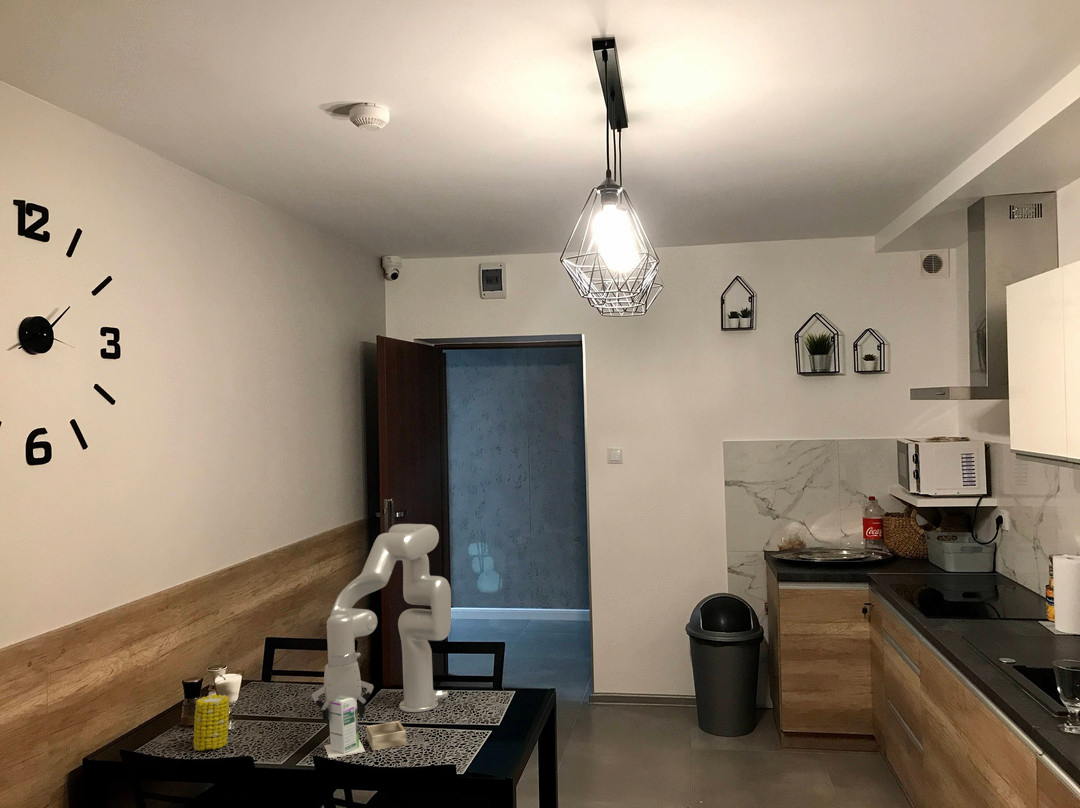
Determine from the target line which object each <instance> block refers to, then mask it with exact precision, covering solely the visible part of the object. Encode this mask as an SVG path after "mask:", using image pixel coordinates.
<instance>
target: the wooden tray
mask: <svg viewBox="0 0 1080 808" xmlns="http://www.w3.org/2000/svg"><path fill="white" fill-rule="evenodd" d="M367 740H368V741H367ZM366 741H367V743H368V742H369V743H368V745H369V744H370V745H369V746H371V747H370V748H372V749H371V751H372V750H378V751H381V750H380V749H384V750H386V749H385V748H389V749H391V748H390V747H395V748H397V747H396V746H400V747H403V746H402V745H406V746H407V731H406V729H405V728H404V726H403V725H402V723H401V721H399V720H396V721H391V722H384V723H379V724H372V725H367V726H366Z"/></svg>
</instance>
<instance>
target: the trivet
mask: <svg viewBox="0 0 1080 808" xmlns="http://www.w3.org/2000/svg"><path fill="white" fill-rule="evenodd" d="M324 747H325V748H324ZM323 748H324V750H325V749H326V751H325V753H326V752H327V753H326V756H327V755H328V756H327V758H333V759H332V760H335V759H338V758H337V757H341V758H343V757H342V756H346V755H352V754H357V753H362V752H365V753H366V750H365V748H364V746H363V743H362V742H361V740H360V739H359V747H357V748H355V749H353V750H350V751H348V752H346V753H339V752H336V751H333V750H331V743H330V744H324V746H323ZM352 756H353V755H352Z"/></svg>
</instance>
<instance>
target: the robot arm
mask: <svg viewBox="0 0 1080 808" xmlns="http://www.w3.org/2000/svg"><path fill="white" fill-rule="evenodd" d="M439 539H440V535H439V531H438V529H437V527H436V526H434V525H433V524H427V523H426V524H425V523H420V524H419V523H399V524H394V525H392V526H391V527H390V528H389V529H388V532H383V533H381V534H379V535H377V537H376V539H375V540H374V542H373V545H372V547H371V550H370V552H369V554H368V556H367V559H366V562H365V564H364V567H363V569H362V571H361V573H360V574H359V575H357V577H356V578H354V579H353V580H352V581H351V582H349V583H348V584H347V585H346V586H345V587H344V588H343V589H342V591H340V593H339V594H338V596H337V597H336V600H335V601H334V604H333V606H332V610H331V611H330V616H329V617H328V618H327V621H326V641H327V661H328V662H327V663H326V664H325V666H324V676H323V686H322V687H320V688H319V689H318V690H316V691H315V692H313V693H312V694H311V698H312V699H313V701H314V702H315V705H317V706H318V707H319V708H320V709H321V711H322V712H321V713H322V716H321V717H322V721H325V724H326V725H328V724H330V723H329V704H330V703H331V702H334V701H335V700H338V699H346V698H357V700H358V702H357V706H358V715H359V717H360V718H361V719H363V718H364V714H366V706H365V704H366V702H367V700H368V699H369V698H370V696H371V695H372V692H373V691H374V687H375V686H374V684H372V683H369V682H366V681H363V680H361V673H360V672H361V671H360V667H359V662H358V660H357V659H358V658H361V652H357V651H356V650H355V648H356V647H355V639H356V638H360V637H367V636H368V635H370V634H373V632H374V631H375V630H376V628H377V626H378V617H377V615H376V613H375V612H374V611H372V610H370V609H367V608H366V609H365V608H353V606H355V604H356V603H358V601H359V600H361V598H363V597H365V596H366V595H369V594H371V593H374V592H376V591H378V590H380V589H383V588H384V587H386V586H387V585H388V582H389V580H390V578H391V575H392V573H393V570H394V567H395V564H396V563H397V561H402V567H403V568H402V572H403V573H402V575H403V576H402V579H403V580H402V583H403V584H402V591H403V593H402V596H403V599H404V601H405V602H406V603H407V604H409V605H416V606H427V607H429V606H430V608H431V609H426V608H408V609H406V610H403V611H402V612H401V614H400V615H399V618H398V620H397V621H398V622H397V626H398V632H399V636H400V640H401V641H400V642H401V652H402V653H401V654H402V682H403V683H402V684H403V700H402V701H400V703H399V707H398V708H399V710H401V711H403V712H407V713H423V712H427V711H430V710H434V709H435V708H437V707H438V706H439V699H444V698H448V695H449V693H448V690H445V691H442V690H437V691H435V690H434V683H433V682H434V680H433V678H434V677H433V656H432V655H433V652H432V648H431V645H430V643H429V641H443V640H445V639H446V638H447V637H448V636H449V634H450V632H451V624H452V607H451V606H452V592H451V591H452V590H451V586H450V583H449V581H448V579H446V578H445V577H443V576H440V575H430V560H429V556H428V553H430V552H432V551H433V550H434V549H435V548H436V547H437V545H438V543H439ZM362 688H366V691H365V693H364V694H362ZM321 695H324V700H323V701H322V700H320V699H319V696H321Z"/></svg>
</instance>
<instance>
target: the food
mask: <svg viewBox="0 0 1080 808" xmlns="http://www.w3.org/2000/svg"><path fill="white" fill-rule="evenodd" d="M229 716H230V697H229V696H228V695H226V694H222V695H221V694H216V693H214V694H212V695H211V694H209V695H207V696H202V697H201V698H198V699H197V700H196V701H195V710H194V717H193V718H194V720H193V721H194V723H193V726H194V728H193V731H194V732H193V739H192V742H193V749H194V750H195V751H196V750H197V751H205V750H211V749H212V750H216V749H218V750H219V748H220V749H222V748H224V747H225V746H226V745H227V744H228V739H229V738H228V736H229V731H228V730H229V724H230V723H229V722H230V721H229V719H230V718H229ZM223 746H224V747H223ZM221 747H222V748H221Z"/></svg>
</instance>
